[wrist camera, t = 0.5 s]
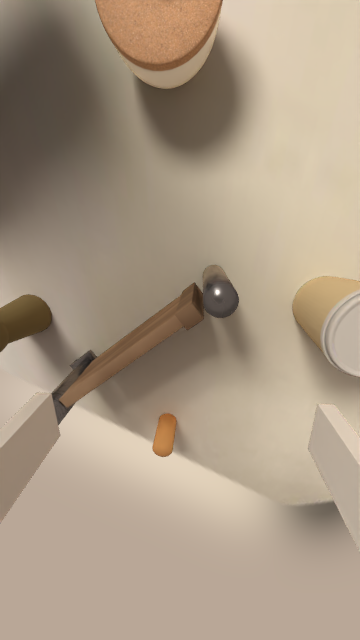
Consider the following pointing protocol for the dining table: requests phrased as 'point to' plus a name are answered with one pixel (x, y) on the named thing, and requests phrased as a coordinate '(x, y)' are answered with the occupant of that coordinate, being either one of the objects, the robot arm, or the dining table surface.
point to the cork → (23, 319)
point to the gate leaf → (139, 342)
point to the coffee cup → (332, 319)
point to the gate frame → (216, 301)
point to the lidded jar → (162, 36)
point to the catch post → (164, 435)
